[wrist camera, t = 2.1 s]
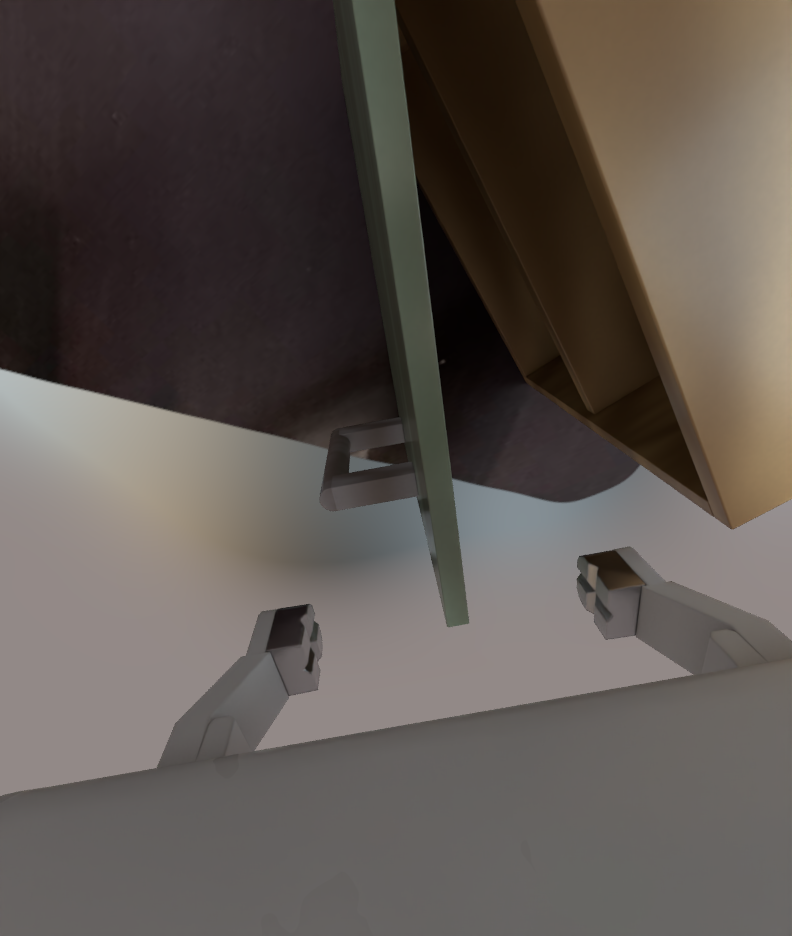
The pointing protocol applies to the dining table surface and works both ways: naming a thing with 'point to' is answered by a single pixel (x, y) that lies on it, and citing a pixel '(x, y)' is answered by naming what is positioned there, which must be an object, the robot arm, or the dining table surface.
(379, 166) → the door
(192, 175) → the dining table surface
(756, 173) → the cupboard
